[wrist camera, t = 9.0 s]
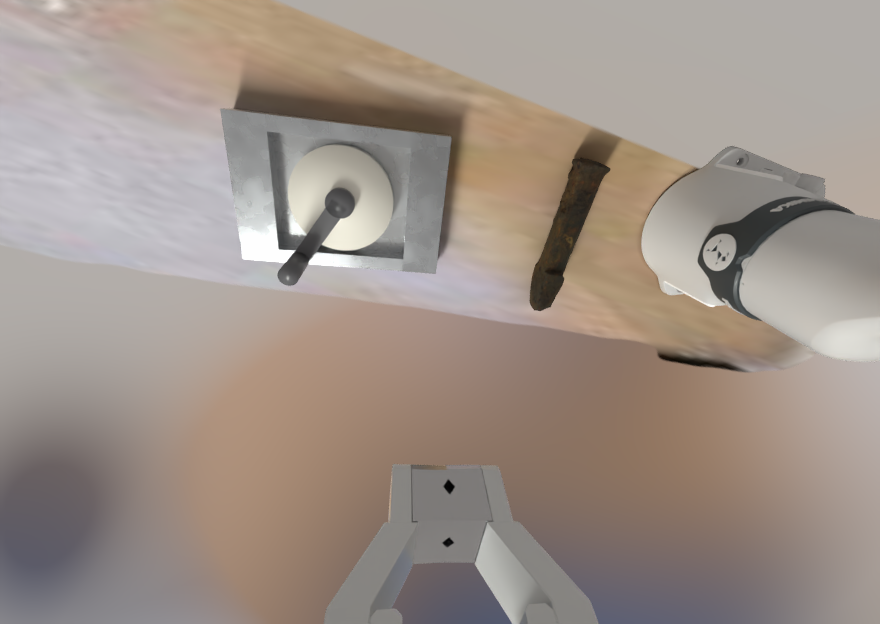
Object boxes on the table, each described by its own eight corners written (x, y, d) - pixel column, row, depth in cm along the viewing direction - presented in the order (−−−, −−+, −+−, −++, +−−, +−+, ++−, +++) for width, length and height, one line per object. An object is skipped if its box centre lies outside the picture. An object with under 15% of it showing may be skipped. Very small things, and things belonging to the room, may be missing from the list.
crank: (413, 191, 41) (414, 207, 35) (341, 283, 46) (329, 312, 39) (328, 119, 37) (311, 121, 31) (258, 228, 42) (230, 251, 35)
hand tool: (569, 153, 42) (586, 158, 38) (600, 163, 43) (620, 169, 39) (511, 297, 51) (519, 314, 46) (537, 303, 51) (548, 320, 47)
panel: (448, 135, 40) (451, 137, 37) (433, 268, 47) (435, 278, 44) (233, 108, 37) (219, 108, 34) (253, 255, 44) (243, 264, 42)
